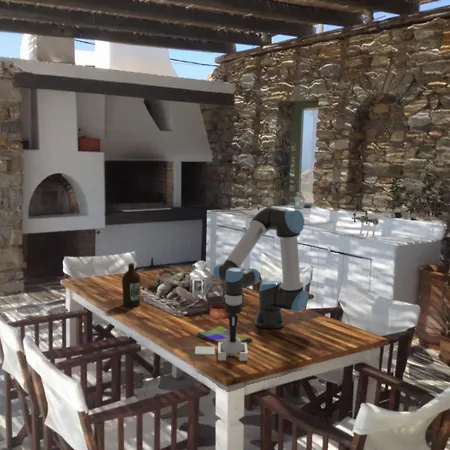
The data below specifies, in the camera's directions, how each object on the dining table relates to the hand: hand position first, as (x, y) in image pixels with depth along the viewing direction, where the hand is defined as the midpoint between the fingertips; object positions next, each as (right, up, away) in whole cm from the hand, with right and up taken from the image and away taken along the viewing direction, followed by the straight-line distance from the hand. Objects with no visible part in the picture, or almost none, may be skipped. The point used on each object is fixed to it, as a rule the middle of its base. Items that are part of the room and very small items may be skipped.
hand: (232, 352), depth 256 cm
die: (0, -1, -2) cm, 2 cm away
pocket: (0, -1, -1) cm, 1 cm away
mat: (-12, 0, +3) cm, 13 cm away
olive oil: (-58, +11, +73) cm, 94 cm away
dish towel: (-4, +2, +21) cm, 22 cm away
